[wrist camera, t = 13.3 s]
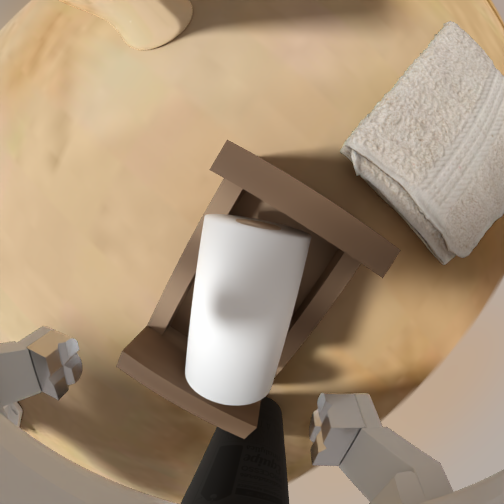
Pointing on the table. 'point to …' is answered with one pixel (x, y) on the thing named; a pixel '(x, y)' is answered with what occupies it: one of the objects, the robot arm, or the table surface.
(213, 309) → the roll
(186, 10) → the silver tumbler
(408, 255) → the table surface
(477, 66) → the washcloth
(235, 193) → the cradle
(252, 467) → the drinking cup
